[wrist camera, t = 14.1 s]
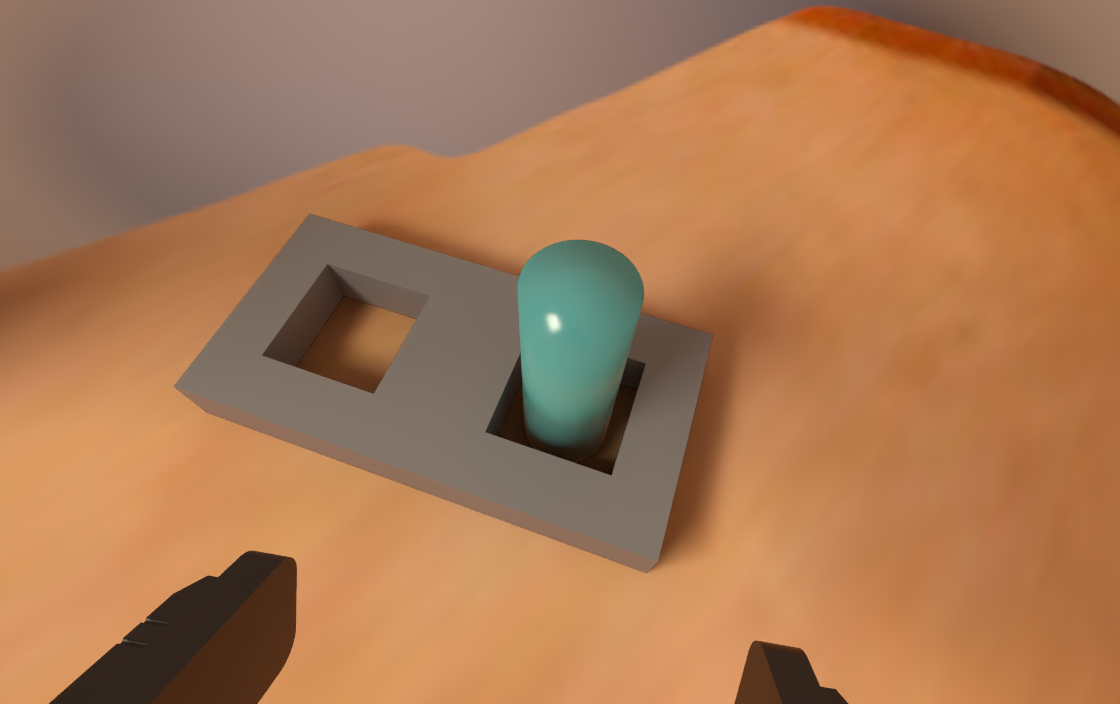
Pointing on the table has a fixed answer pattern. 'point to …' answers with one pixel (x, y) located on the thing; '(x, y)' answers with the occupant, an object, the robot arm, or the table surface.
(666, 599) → the table surface
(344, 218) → the table surface
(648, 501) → the rack
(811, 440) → the table surface
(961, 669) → the table surface
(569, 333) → the teal round-top peg
